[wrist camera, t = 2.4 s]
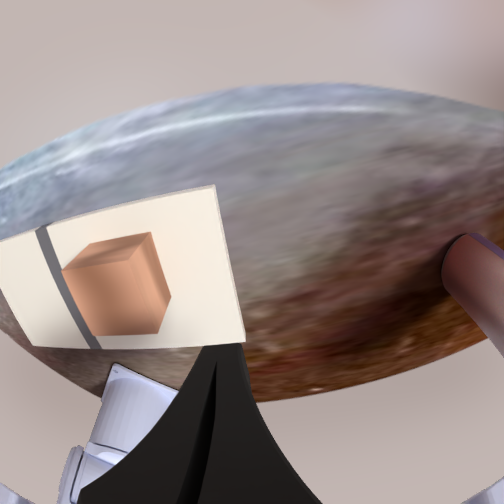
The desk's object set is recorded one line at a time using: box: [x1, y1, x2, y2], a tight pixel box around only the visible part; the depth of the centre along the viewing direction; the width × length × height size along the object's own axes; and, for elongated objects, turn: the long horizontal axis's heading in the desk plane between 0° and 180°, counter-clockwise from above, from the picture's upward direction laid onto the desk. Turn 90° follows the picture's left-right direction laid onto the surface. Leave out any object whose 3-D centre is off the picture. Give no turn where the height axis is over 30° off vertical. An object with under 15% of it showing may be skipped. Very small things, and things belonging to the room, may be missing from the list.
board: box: [0, 184, 245, 349], centre depth 19 cm, size 24×12×1 cm, turn 98°
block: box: [61, 232, 171, 336], centre depth 16 cm, size 5×5×4 cm
